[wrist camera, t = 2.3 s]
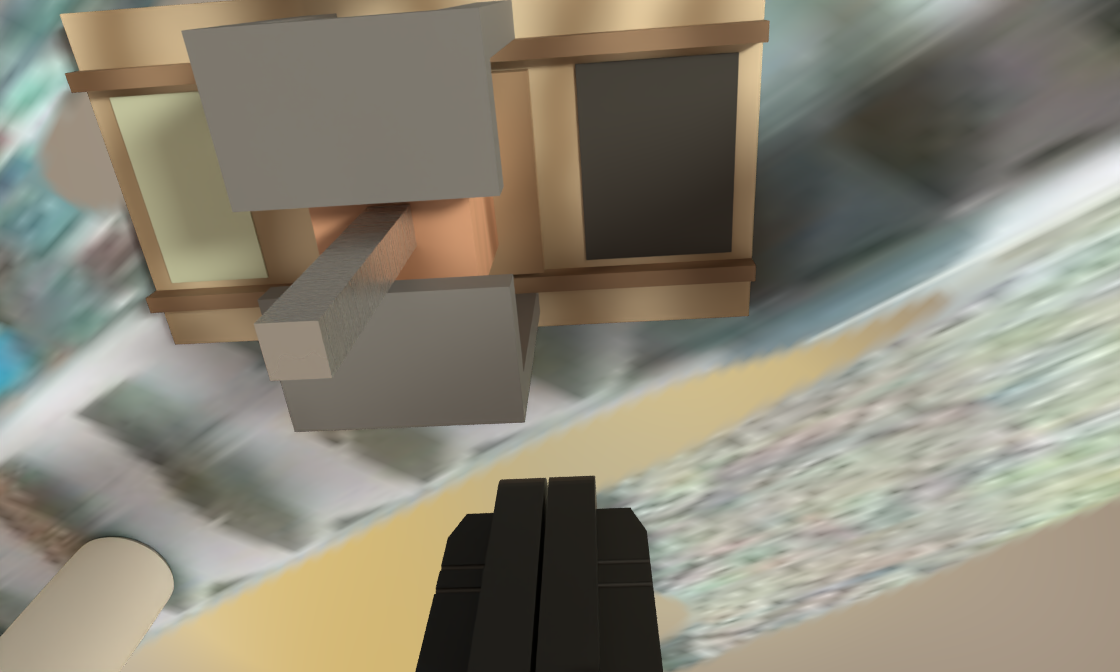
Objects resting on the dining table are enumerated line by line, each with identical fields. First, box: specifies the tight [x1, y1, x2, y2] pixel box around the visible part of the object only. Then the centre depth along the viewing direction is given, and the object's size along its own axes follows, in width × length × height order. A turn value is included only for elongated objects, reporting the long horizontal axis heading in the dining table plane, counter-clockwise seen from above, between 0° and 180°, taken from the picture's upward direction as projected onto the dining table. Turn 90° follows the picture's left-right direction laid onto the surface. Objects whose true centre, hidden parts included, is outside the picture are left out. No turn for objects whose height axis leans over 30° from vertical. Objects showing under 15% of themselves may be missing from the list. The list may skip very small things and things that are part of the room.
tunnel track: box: [60, 0, 769, 432], centre depth 29 cm, size 30×16×12 cm, turn 94°
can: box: [0, 537, 174, 672], centre depth 42 cm, size 6×6×12 cm
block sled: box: [254, 69, 545, 381], centre depth 25 cm, size 10×9×17 cm
